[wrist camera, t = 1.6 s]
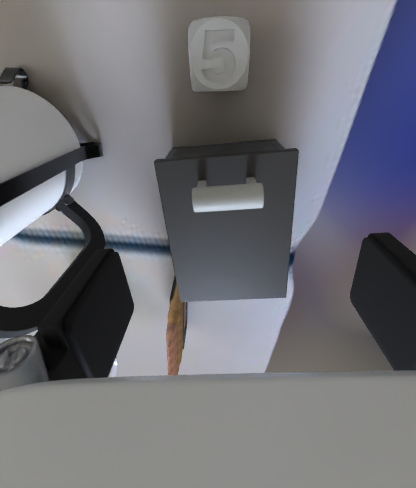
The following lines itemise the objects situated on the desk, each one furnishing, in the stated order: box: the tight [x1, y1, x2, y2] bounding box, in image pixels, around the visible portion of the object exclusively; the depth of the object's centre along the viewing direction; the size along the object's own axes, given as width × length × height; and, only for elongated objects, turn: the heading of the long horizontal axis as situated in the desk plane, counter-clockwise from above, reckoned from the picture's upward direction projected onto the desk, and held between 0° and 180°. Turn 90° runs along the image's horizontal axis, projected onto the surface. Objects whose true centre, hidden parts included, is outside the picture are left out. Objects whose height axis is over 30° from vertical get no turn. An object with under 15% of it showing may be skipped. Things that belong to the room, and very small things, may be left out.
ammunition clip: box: [166, 277, 187, 375], centre depth 37 cm, size 11×2×12 cm, turn 177°
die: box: [188, 16, 250, 92], centre depth 24 cm, size 5×5×5 cm
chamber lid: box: [154, 148, 299, 302], centre depth 23 cm, size 15×12×5 cm
